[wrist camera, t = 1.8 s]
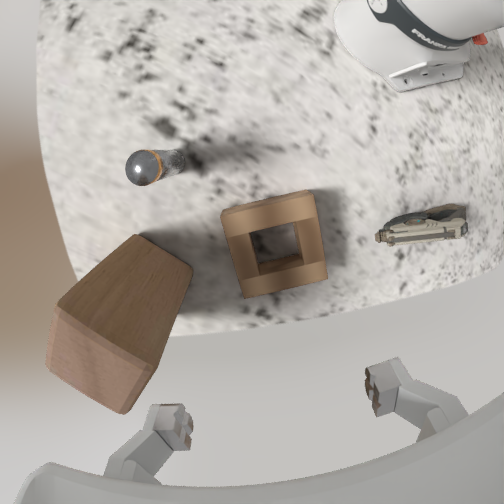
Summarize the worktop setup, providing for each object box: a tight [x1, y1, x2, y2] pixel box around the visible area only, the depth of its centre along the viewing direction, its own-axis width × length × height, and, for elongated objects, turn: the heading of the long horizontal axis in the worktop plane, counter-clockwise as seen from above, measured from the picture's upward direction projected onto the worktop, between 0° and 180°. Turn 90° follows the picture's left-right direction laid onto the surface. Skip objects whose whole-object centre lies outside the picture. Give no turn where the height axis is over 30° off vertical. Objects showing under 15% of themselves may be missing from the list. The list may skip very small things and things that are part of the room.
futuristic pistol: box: [375, 204, 468, 246], centre depth 34 cm, size 2×15×10 cm, turn 107°
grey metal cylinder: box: [125, 150, 185, 186], centre depth 28 cm, size 3×3×11 cm
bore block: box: [220, 190, 328, 299], centre depth 35 cm, size 11×11×4 cm
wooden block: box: [45, 234, 193, 415], centre depth 29 cm, size 10×10×20 cm
